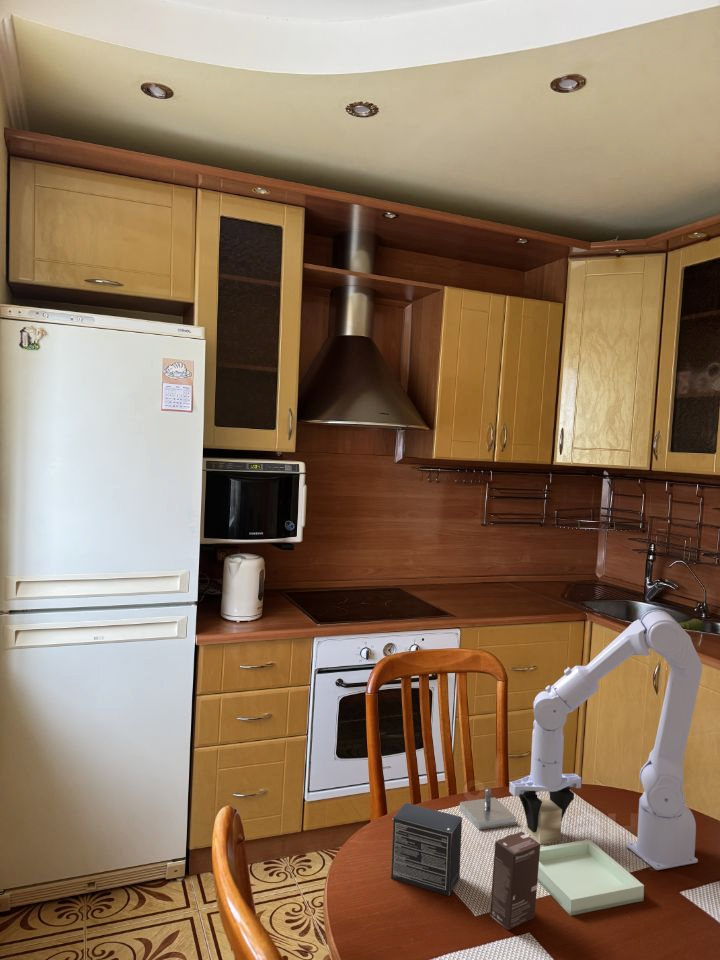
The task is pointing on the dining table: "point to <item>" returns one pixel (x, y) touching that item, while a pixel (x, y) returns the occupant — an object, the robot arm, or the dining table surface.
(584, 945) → the dining table surface
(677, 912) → the dining table surface
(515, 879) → the box
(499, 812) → the silver peg base
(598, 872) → the tray
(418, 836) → the small box
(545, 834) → the birch block
